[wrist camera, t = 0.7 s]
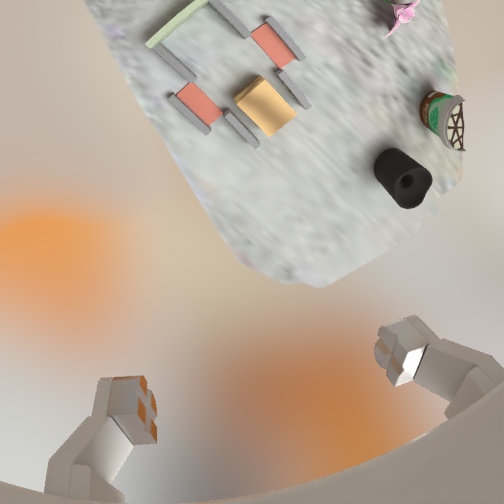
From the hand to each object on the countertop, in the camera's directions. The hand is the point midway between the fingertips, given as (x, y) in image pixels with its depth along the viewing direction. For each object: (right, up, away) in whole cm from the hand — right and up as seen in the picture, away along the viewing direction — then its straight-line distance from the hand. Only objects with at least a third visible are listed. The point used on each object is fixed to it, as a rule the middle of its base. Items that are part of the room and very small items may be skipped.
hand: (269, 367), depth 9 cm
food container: (+36, +33, +42) cm, 64 cm away
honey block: (+1, +29, +38) cm, 48 cm away
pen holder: (+29, +23, +50) cm, 62 cm away
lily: (+24, +47, +27) cm, 60 cm away
